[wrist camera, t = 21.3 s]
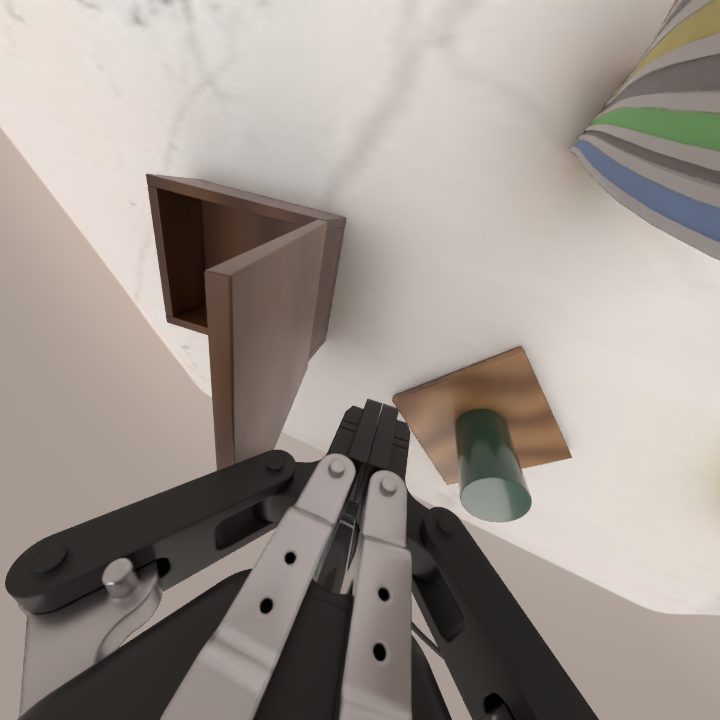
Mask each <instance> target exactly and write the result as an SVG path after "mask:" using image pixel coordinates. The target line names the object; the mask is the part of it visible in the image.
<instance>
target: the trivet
mask: <svg viewBox="0 0 720 720" xmlns="http://www.w3.org/2000/svg"><path fill="white" fill-rule="evenodd" d="M392 401H393V403H394V404H395V406H396V407H397V408H398V409H399V412H400V413H401V415H402V416H403V418H404V420H405V421H406V423H407V424H408V426H409V427H410V429H411V430H412V432H413V433H414V435H415V436H416V438H417V439H418V441H419V443H420V444H421V446H422V447H423V449H424V450H425V452H426V453H427V455H428V456H429V458H430V459H431V461H432V462H433V464H434V466H435V467H436V469H437V470H438V472H439V473H440V475H441V476H442V478H443V479H444V481H445V482H446V484H447V485H449V484H454V483H458V482H459V478H458V466H457V453H456V441H455V423H456V421H457V419H458V418H459V417H460V416H461V415H462V414H464V413H465V412H467V411H470V410H473V409H488V410H492V411H494V412H496V413H498V414H500V415H501V416H502V417H503V418H504V419H505V421H506V422H507V425H508V428H509V431H510V434H511V437H512V440H513V443H514V446H515V450H516V453H517V456H518V459H519V462H520V465H521V468H522V469H523V468H527V467H532V466H536V465H541V464H545V463H550V462H555V461H559V460H564V459H568V458H572V456H571V454H570V452H569V449H568V447H567V445H566V443H565V440H564V438H563V436H562V434H561V432H560V429H559V427H558V425H557V423H556V420H555V418H554V416H553V414H552V412H551V409H550V407H549V405H548V403H547V401H546V398H545V396H544V394H543V392H542V389H541V387H540V385H539V383H538V381H537V378H536V376H535V374H534V372H533V370H532V367H531V365H530V363H529V361H528V358H527V356H526V354H525V352H524V350H523V348H522V347H518V348H516V349H513V350H511V351H508V352H506V353H503V354H500V355H498V356H495V357H493V358H490V359H487V360H485V361H482V362H480V363H477V364H475V365H472V366H469V367H467V368H464V369H462V370H459V371H456V372H454V373H451V374H449V375H446V376H444V377H441V378H438V379H436V380H433V381H431V382H428V383H425V384H423V385H420V386H418V387H415V388H413V389H410V390H407V391H405V392H402V393H400V394H397V395H394V396H393V400H392Z"/></svg>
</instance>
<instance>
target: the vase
mask: <svg viewBox="0 0 720 720" xmlns="http://www.w3.org/2000/svg"><path fill="white" fill-rule="evenodd" d="M584 131H585V133H584V134H583V135H580V136H579V138H578V139H577V140H576V141H575V142H574V144H573V145H572V146H571V147H570V148H569V151H570V152H572V153H573V154H574V155H576V156H577V157H578V159H579V161H580V162H581V164H582V165H583V167H584V168H585V169H586V171H587V172H588V173H589V175H590V176H591V177H592V178H593V179H594V180H595V181H596V182H597V183H598V185H599V186H600V187H602V188H603V189H604V190H605V191H606V192H607V193H609V194H610V195H611V196H612V197H613V198H614V199H616V200H617V201H618V202H619V203H620V204H622V205H623V206H625V207H626V208H628V209H629V210H631V211H632V212H634V213H635V214H636V215H638V216H639V217H641V218H642V219H644V220H645V221H647V222H648V223H650V224H651V225H653V226H655V227H656V228H658V229H660V230H662V231H664V232H666V233H668V234H669V235H671V236H673V237H675V238H677V239H679V240H681V241H683V242H684V243H686V244H688V245H690V246H692V247H694V248H696V249H698V250H699V251H701V252H703V253H705V254H707V255H709V256H711V257H713V258H715V259H718V260H720V0H675V2H674V4H673V6H672V8H671V10H670V12H669V14H668V15H667V17H666V19H665V21H664V23H663V25H662V27H661V28H660V30H659V31H658V33H657V35H656V36H655V38H654V40H653V41H652V43H651V44H650V46H649V48H648V49H647V51H646V52H645V54H644V56H643V57H642V59H641V60H640V62H639V63H638V65H637V66H636V68H635V69H634V70H633V71H632V73H631V74H630V75H629V76H628V77H627V79H626V80H625V81H624V82H623V85H622V86H621V87H620V88H619V89H618V90H617V91H616V92H615V93H614V95H613V96H612V97H611V98H610V99H609V101H608V102H607V103H606V104H605V108H604V110H603V111H602V112H601V113H600V114H598V115H596V117H595V118H594V119H593V120H592V122H591V123H590V124H589V125H588V126H587V128H586V129H585V130H584Z"/></svg>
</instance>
